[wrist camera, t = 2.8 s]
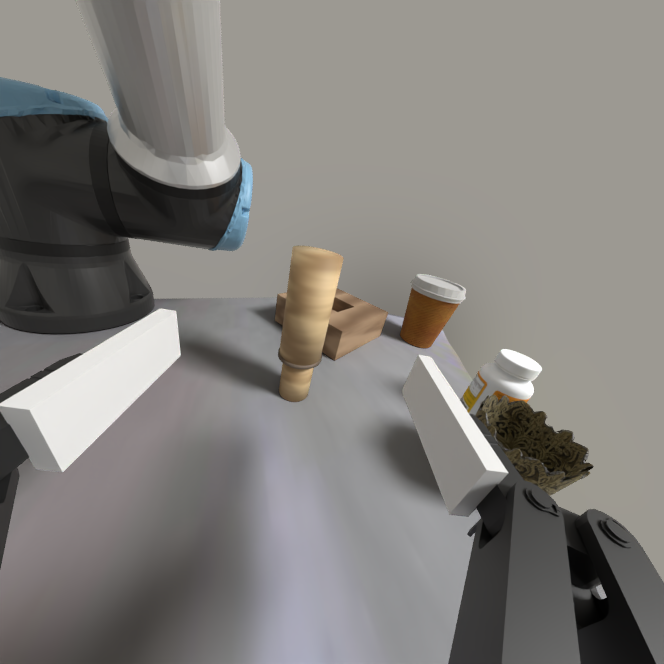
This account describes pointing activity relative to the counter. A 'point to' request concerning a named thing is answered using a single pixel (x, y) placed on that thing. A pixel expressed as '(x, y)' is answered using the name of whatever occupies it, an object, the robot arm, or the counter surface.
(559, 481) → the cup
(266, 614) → the counter surface
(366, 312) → the seat block
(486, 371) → the supplement bottle
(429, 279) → the disposable coffee cup
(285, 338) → the leg
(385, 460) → the counter surface
